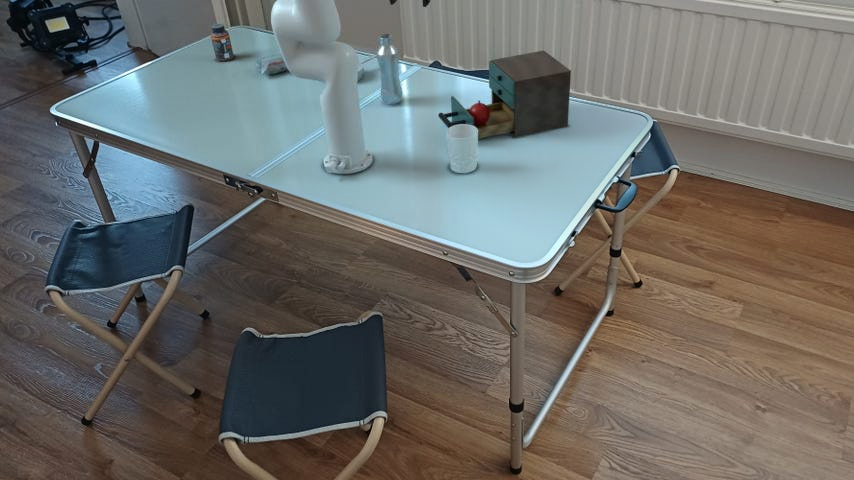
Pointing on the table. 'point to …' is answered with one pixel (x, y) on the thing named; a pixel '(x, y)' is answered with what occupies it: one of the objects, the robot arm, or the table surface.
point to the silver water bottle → (389, 70)
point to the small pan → (360, 66)
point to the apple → (479, 113)
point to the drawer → (496, 124)
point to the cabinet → (532, 91)
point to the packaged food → (271, 64)
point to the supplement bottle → (221, 43)
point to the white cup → (462, 147)
